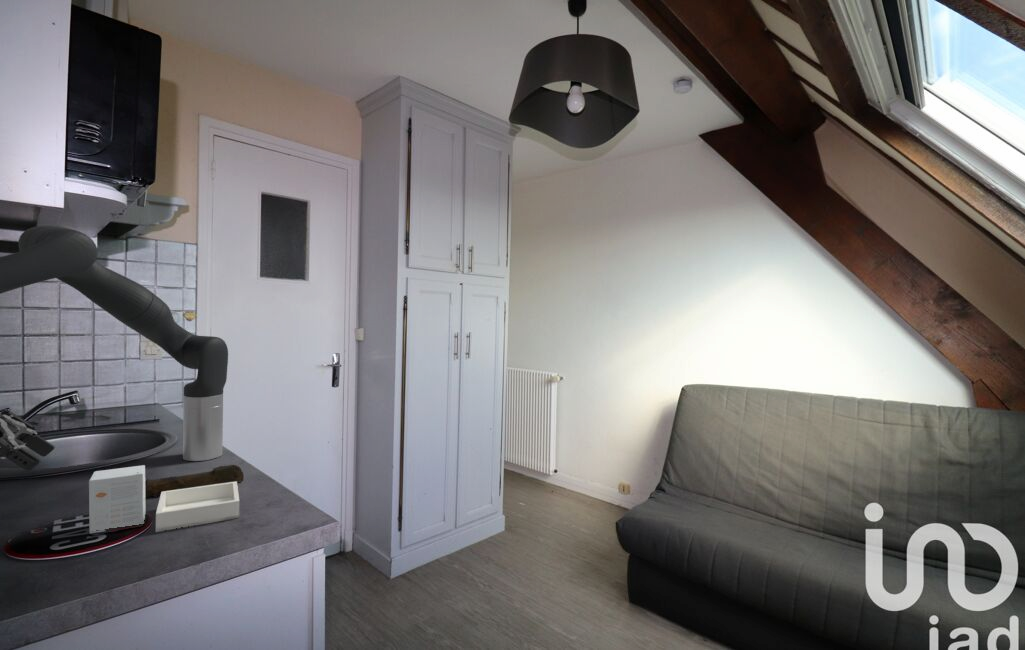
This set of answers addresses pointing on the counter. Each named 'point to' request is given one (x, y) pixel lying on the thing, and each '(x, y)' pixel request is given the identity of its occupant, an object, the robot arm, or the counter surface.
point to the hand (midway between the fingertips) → (43, 458)
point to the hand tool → (194, 480)
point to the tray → (197, 506)
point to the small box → (117, 498)
